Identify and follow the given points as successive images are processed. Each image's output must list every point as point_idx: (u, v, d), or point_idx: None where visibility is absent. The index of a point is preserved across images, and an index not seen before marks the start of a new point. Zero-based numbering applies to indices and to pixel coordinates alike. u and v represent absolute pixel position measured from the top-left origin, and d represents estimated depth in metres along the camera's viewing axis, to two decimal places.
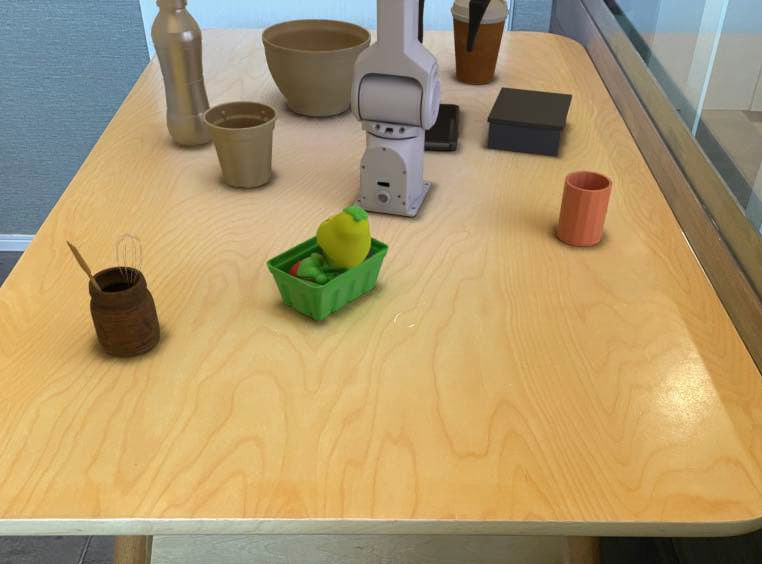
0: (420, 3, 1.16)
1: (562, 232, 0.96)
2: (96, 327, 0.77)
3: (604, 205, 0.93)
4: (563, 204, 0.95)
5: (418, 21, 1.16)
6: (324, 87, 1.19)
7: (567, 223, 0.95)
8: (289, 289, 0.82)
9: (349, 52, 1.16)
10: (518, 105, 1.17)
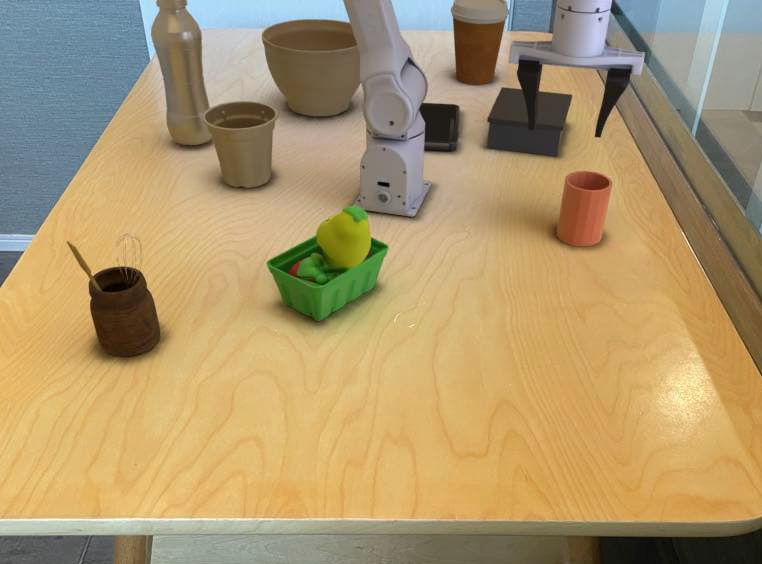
0: (539, 78, 0.92)
1: (562, 232, 0.96)
2: (96, 327, 0.77)
3: (604, 205, 0.93)
4: (563, 204, 0.95)
5: (535, 100, 0.93)
6: (324, 87, 1.19)
7: (567, 223, 0.95)
8: (289, 289, 0.82)
9: (349, 52, 1.16)
10: (518, 105, 1.17)
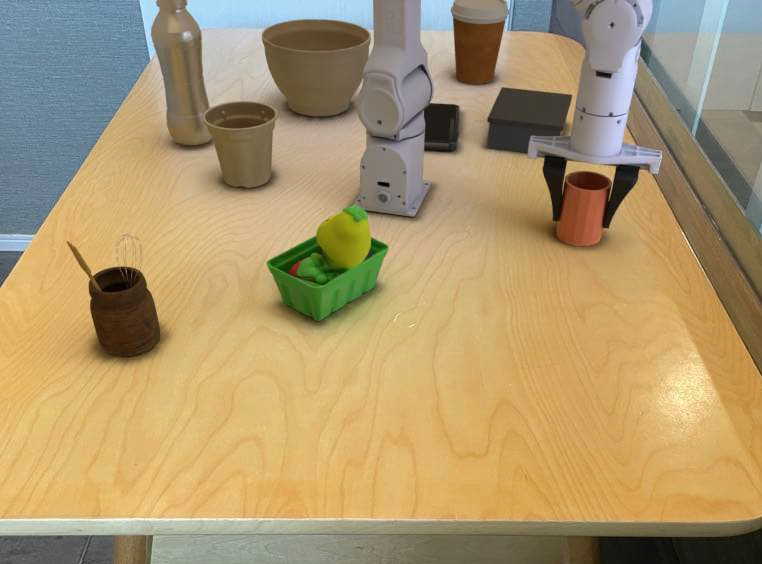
0: (564, 173, 0.93)
1: (562, 232, 0.96)
2: (96, 327, 0.77)
3: (604, 205, 0.93)
4: (562, 204, 0.95)
5: (560, 194, 0.94)
6: (324, 87, 1.19)
7: (567, 223, 0.95)
8: (289, 289, 0.82)
9: (349, 52, 1.16)
10: (518, 105, 1.17)
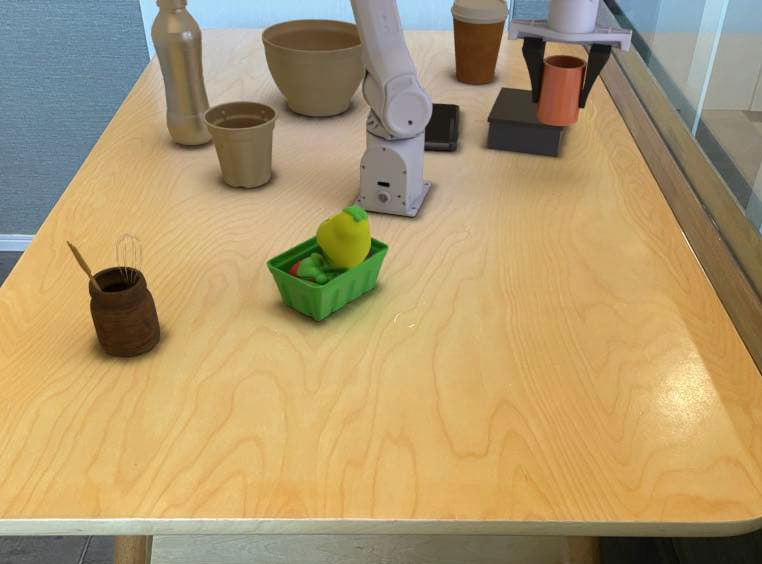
0: (542, 55, 1.00)
1: (541, 113, 1.03)
2: (96, 327, 0.77)
3: (579, 84, 1.00)
4: (541, 85, 1.02)
5: (539, 75, 1.01)
6: (324, 87, 1.19)
7: (545, 103, 1.02)
8: (289, 289, 0.82)
9: (349, 52, 1.16)
10: (518, 105, 1.17)
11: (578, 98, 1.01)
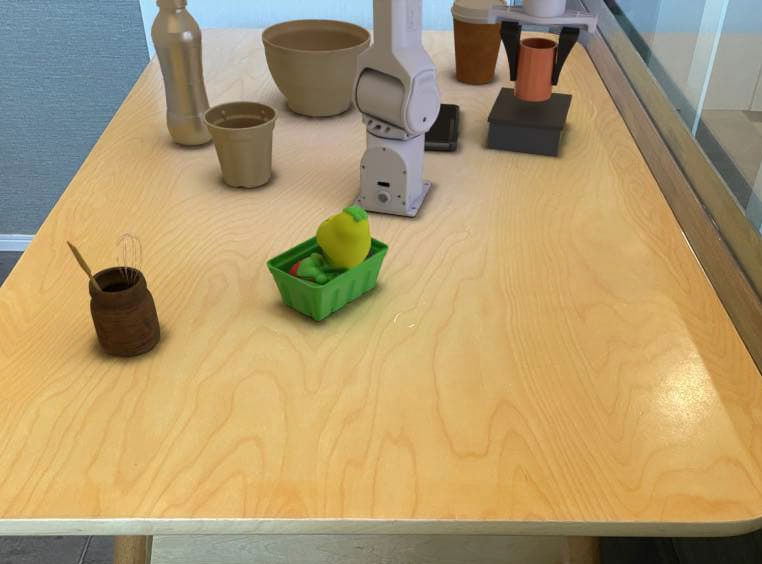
0: (518, 37, 1.11)
1: (517, 90, 1.15)
2: (96, 327, 0.77)
3: (551, 63, 1.12)
4: (517, 64, 1.13)
5: (515, 55, 1.12)
6: (324, 87, 1.19)
7: (521, 80, 1.13)
8: (289, 289, 0.82)
9: (349, 52, 1.16)
10: (518, 105, 1.17)
11: (551, 76, 1.13)
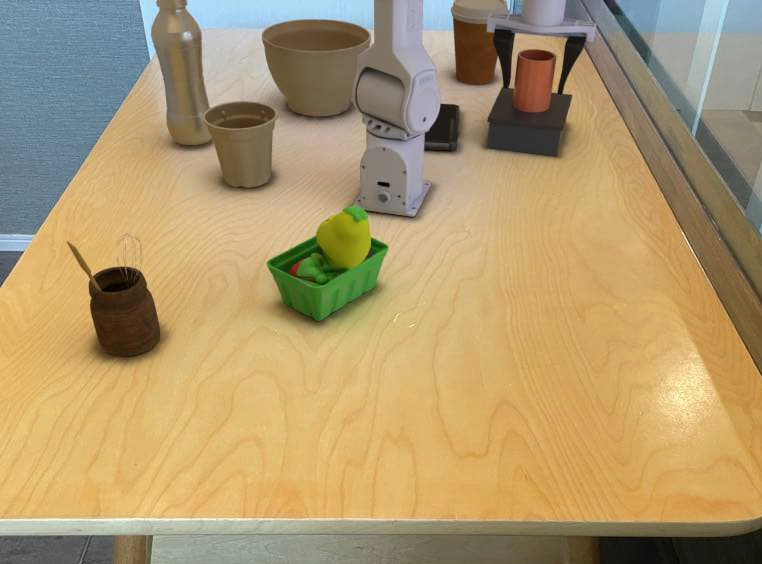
0: (511, 45, 1.12)
1: (516, 101, 1.16)
2: (96, 327, 0.77)
3: (550, 75, 1.13)
4: (516, 76, 1.14)
5: (508, 63, 1.13)
6: (324, 87, 1.19)
7: (520, 92, 1.14)
8: (289, 289, 0.82)
9: (349, 52, 1.16)
10: None
11: (549, 87, 1.14)
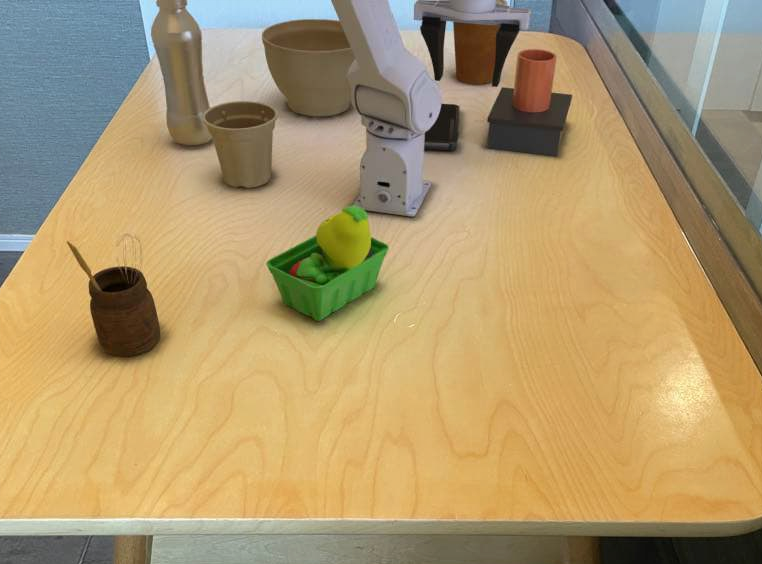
0: (441, 33, 1.04)
1: (516, 101, 1.16)
2: (96, 327, 0.77)
3: (550, 75, 1.13)
4: (516, 76, 1.14)
5: (438, 53, 1.05)
6: (324, 87, 1.19)
7: (520, 92, 1.14)
8: (289, 289, 0.82)
9: (349, 52, 1.16)
10: None
11: (549, 87, 1.14)
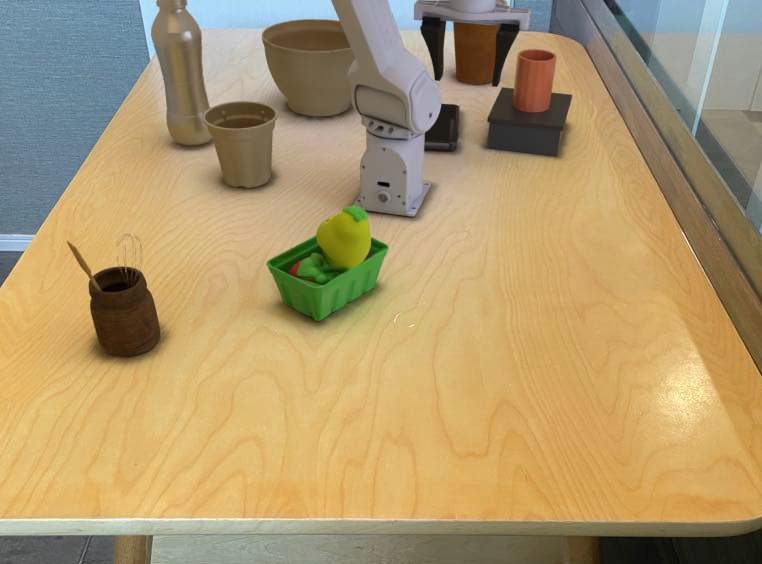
0: (441, 33, 1.04)
1: (516, 101, 1.16)
2: (96, 327, 0.77)
3: (550, 75, 1.13)
4: (516, 76, 1.14)
5: (438, 53, 1.05)
6: (324, 87, 1.19)
7: (520, 92, 1.14)
8: (289, 289, 0.82)
9: (349, 52, 1.16)
10: None
11: (549, 87, 1.14)
